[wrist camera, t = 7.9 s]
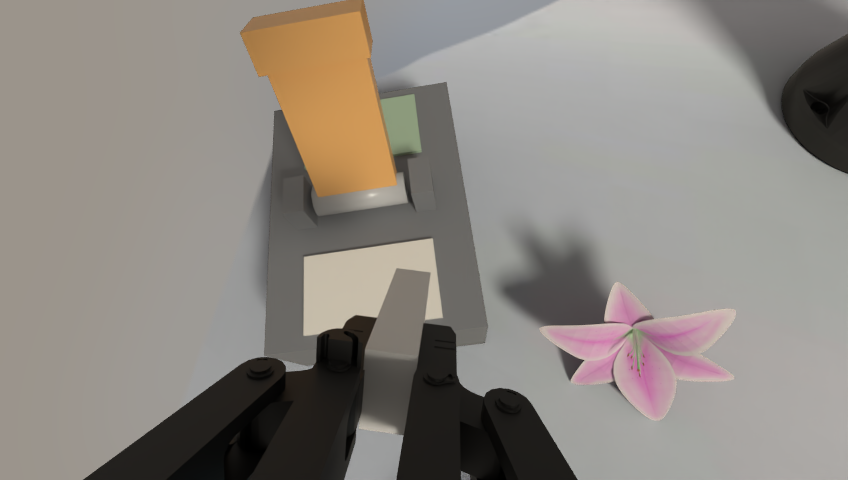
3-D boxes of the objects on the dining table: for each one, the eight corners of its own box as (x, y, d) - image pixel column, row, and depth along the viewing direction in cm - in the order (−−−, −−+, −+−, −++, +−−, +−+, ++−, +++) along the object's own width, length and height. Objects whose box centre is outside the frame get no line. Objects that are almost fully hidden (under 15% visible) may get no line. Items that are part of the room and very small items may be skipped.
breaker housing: (484, 342, 35) (489, 317, 25) (306, 365, 36) (242, 350, 26) (450, 136, 44) (444, 55, 34) (307, 159, 45) (258, 87, 35)
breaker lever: (408, 210, 31) (363, 10, 21) (319, 224, 31) (236, 33, 22) (407, 188, 33) (366, -4, 23) (324, 201, 33) (249, 18, 24)
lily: (516, 321, 37) (524, 367, 27) (614, 226, 34) (660, 242, 25) (614, 412, 37) (657, 491, 27) (721, 323, 34) (808, 376, 25)
